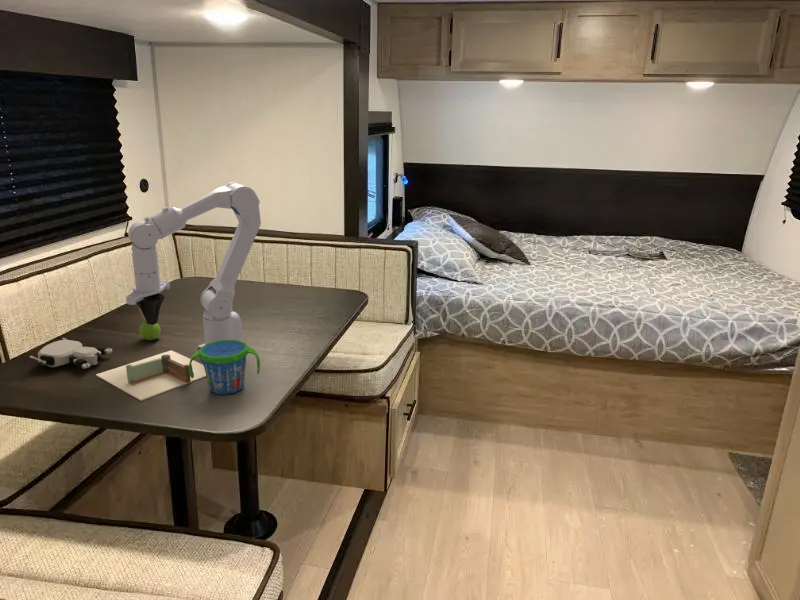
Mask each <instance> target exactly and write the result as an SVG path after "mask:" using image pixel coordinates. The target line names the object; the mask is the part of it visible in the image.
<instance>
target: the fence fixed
mask: <svg viewBox="0 0 800 600" xmlns="http://www.w3.org/2000/svg"><path fill="white" fill-rule="evenodd" d="M161 359H162V368H163V372H164V373H168V372H169V373H170V374H172V375H174V376H176V377H178V378H180V379H182V380H184V381H185V382H186V383H188V382H191V380H190V373H189V365H182V364H180V363H178V362H176V361H174V360H172V359H170V355H162V356H161ZM191 383H192V382H191ZM188 384H189V383H188Z"/></svg>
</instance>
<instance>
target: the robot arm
mask: <svg viewBox="0 0 800 600" xmlns="http://www.w3.org/2000/svg"><path fill="white" fill-rule="evenodd" d="M260 203H261V201H260V199H259V197H258V195H257V194H256V192H255V190H254V189H252V188H251V187H249V186H245V185H243V184H241V182H240V183H239V182H236V181H231V182H230V183H227V184H226V185H223V186H218V187H217V188H215V189H214V190H212V191H211V192H208V193H206V194H204V195H203V196H201V197H199V198H197V199H195V200H194V201H192V202H190V203H188V204H186V205H184V206H182V207H181V208H177V207H175V206H171V207H168V206H165V207H162V208H161V210H162V211H160V212H159V213H156V214H155V215H152V216H151V217H149V216H146V217H144V218H143V221H142V220H141V221H135V222H134V223H133V224H131V225H130V227H129V228H128V233H127V236H128V239H129V241H131V251H132V253H131V258H132V268H133V275H134V283H135V286H134V287H132V292H131V293H129V294H128V295H126V296H125V302H126V305H132V306H134V305H137V307H138V308H139V307H140V309H141V311H142V313H143V315H144V317H145V319H146V320H145V321H146V322H147V324H151V325H155V324H157V323H158V321H159V314H160V311H161V310H160V309H161V307H162V305H163V302H164V299H165V295H164V294H163V293H162V292H163V291H164V290H169V289H170V288H171V283H170V280H161V277H160V266H159V258H158V257H159V255H158V251H157V246H156V245H157V244H158V241H159V240H162V239H164V238H167V237H168V236H170V235H172V234H175V233H177V232H179V231H180V230H182V229H185V227H186V224H187V222H188V221H189V220H191V219H194V218H196V217H198V216H200V215H203V214H204V213H207V212H210V211H211V210H214V209H216V208H217V209H218V208H220V209H228V210H230V209H231V210H232V211H233V214H234V215H235V218H236V219H237V222H238V224H237V227H236V229H235V232H234V233H233V236H232V239H231V241H230V243H229V245H228V248H227V250H226V252H225V255H224V256H223V259H222V262H221V264H220V266H219V268H218V272H217V274H216V275H215V277H214V278H213V279H212V280H211V281H210V282H209V285H208V286H207V287H206V288H205V289H203V291H202V293H201V294H200V296H199V299H200V300H199V301H200V304H201V306H202V307H203V308H204V312H203V314H202V321H203V333H204V343H202V344H199V345H198V348H200V349H201V347H203V346H204V345H206V344H208V343H211V342H215V341H220V340H237V341H241V342H244V340H243V339H244V338H243V323H242V319H241V317H240V315H239V313H237V312H236V311H233V309H234V308H233V307H234V306H233V303H234V302H233V301H234V298H235V296H236V295H235V293H236V291H235V285H236V283H237V281H238V279H239V276H240V274H241V271H242V269H243V267H244V265H245V262H246V260H247V258H248V255H249V252H250V251H251V248H252V246H253V243H254V241H255V239H256V236H257V234H258V232H259V230H260V227H261V225H262V221H261V220H262V219H261V214H260Z"/></svg>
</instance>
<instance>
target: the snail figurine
mask: <svg viewBox="0 0 800 600" xmlns="http://www.w3.org/2000/svg"><path fill="white" fill-rule="evenodd" d="M138 309H139V313H140V316H141V318H142V319H143V320H145V321H144V322H142V323H141V325H140V326H139V329H138V331H139V335H140V337H141V338H142V339H144V340H146V341H154V340H156V339H157V338H159V336H160V334H161V331H162V330H161V326H160V324H159V323H158V322H157V324H155V325H151V324H147V322H146V319H145V317H144V315H143V313H142V311H141V309H140V307H139V306H138Z"/></svg>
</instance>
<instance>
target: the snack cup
mask: <svg viewBox="0 0 800 600" xmlns="http://www.w3.org/2000/svg"><path fill="white" fill-rule="evenodd" d="M248 354H251V355H254V357H255V358H256V365H257V367H256V368H257V370H256V373H257V375H259V373H260V369H261V360H260V356H259V354H258V352H256V350H255V349H254V348H252V347H250V346H248V344H247V343H245V342H244V341H243V342H241V341H237V340H220V341H215V342H211V343H208V344H206V345H204V346H203V347H201V348H200V349H198V350H197V351H195V352H194V353H193V354H192V356H191V358H190V359H191V360H190V363H189V373H190V376H191V378H194V373H193V369H192V365H191V363H192V361H193V360H194V359H195V358H196V357H199V358H200V362H201V364H203V366H204V369H205V373H206V376H207V377H206V381H207V384H208V387H209V390H210V391H211V392H212V393H214V394H216V395H219V396H220V395H221V396H222V395H224V396H225V395H230V394H235V393H237V392H239V391H240V390H241V389H242V388H243V387H244V383H245V373H246V372H245V371H246V363H247V355H248Z"/></svg>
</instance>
